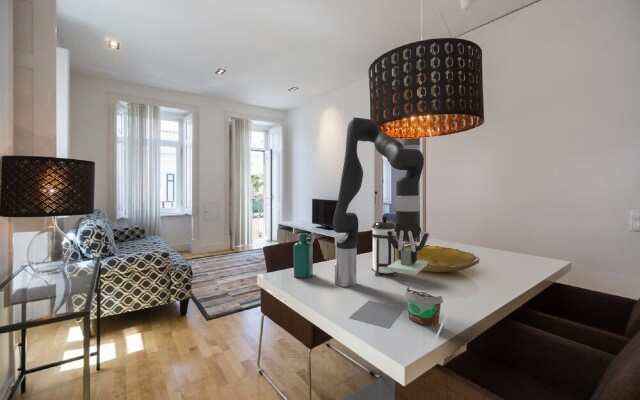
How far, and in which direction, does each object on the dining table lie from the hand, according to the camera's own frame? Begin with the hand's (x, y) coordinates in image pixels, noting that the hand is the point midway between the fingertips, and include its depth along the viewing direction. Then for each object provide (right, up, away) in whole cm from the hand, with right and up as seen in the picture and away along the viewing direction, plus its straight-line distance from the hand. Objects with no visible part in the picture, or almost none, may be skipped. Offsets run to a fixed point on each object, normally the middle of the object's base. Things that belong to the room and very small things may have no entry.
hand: (407, 261), depth 92 cm
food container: (+4, -20, -1) cm, 21 cm away
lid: (0, -2, 0) cm, 2 cm away
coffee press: (+5, -18, +54) cm, 57 cm away
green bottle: (-37, -19, +51) cm, 66 cm away
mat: (-9, -20, +6) cm, 22 cm away
